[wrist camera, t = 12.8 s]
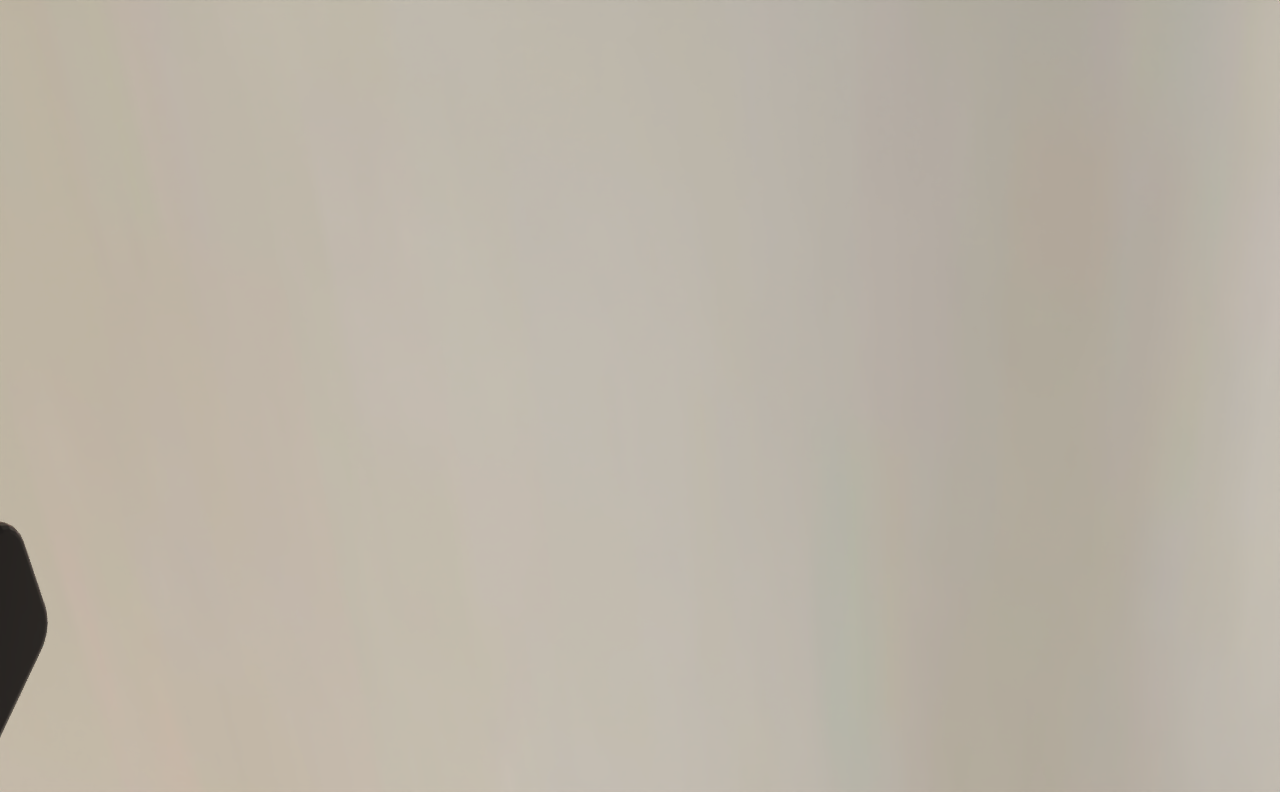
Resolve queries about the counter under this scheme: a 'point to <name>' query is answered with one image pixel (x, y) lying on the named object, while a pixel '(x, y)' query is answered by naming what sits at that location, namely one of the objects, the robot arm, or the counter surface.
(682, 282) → the counter surface
